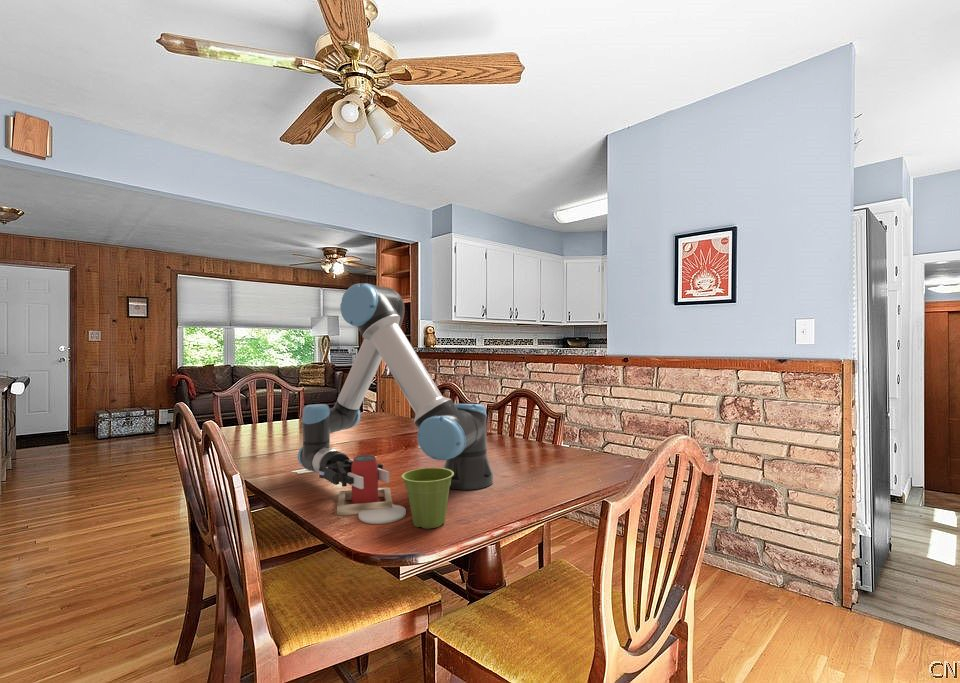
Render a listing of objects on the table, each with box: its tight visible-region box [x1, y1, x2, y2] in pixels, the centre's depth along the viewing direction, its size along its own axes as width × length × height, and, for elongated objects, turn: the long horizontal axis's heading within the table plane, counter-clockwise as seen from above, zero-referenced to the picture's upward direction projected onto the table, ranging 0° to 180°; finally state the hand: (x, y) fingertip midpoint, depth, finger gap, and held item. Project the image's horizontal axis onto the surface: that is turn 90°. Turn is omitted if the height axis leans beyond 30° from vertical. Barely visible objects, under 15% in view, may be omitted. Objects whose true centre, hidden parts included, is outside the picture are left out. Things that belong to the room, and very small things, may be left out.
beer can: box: [351, 454, 379, 504], centre depth 125 cm, size 7×7×12 cm
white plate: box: [358, 503, 407, 525], centre depth 117 cm, size 11×11×1 cm
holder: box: [336, 487, 393, 517], centre depth 125 cm, size 13×13×2 cm
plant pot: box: [401, 467, 454, 530], centre depth 111 cm, size 12×12×11 cm
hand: (375, 480), depth 121 cm, fingers closed on beer can, 7 cm apart
